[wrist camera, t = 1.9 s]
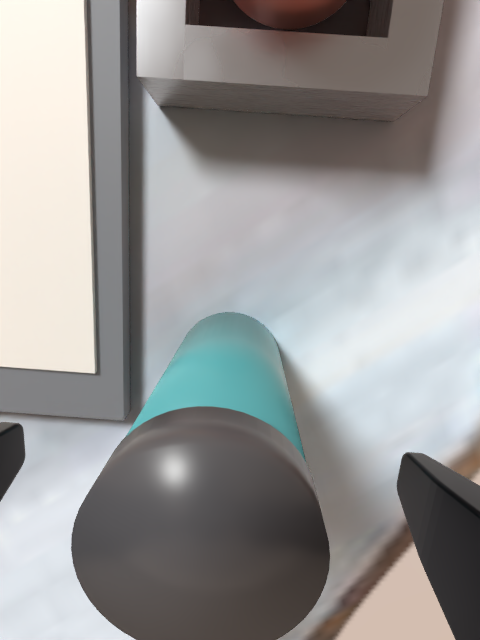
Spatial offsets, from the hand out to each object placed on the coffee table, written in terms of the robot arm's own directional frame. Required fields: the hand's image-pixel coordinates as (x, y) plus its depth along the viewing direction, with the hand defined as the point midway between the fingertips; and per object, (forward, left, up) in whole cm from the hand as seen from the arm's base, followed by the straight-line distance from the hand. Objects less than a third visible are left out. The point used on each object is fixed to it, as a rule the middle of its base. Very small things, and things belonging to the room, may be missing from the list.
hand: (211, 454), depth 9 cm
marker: (0, 0, -6) cm, 6 cm away
